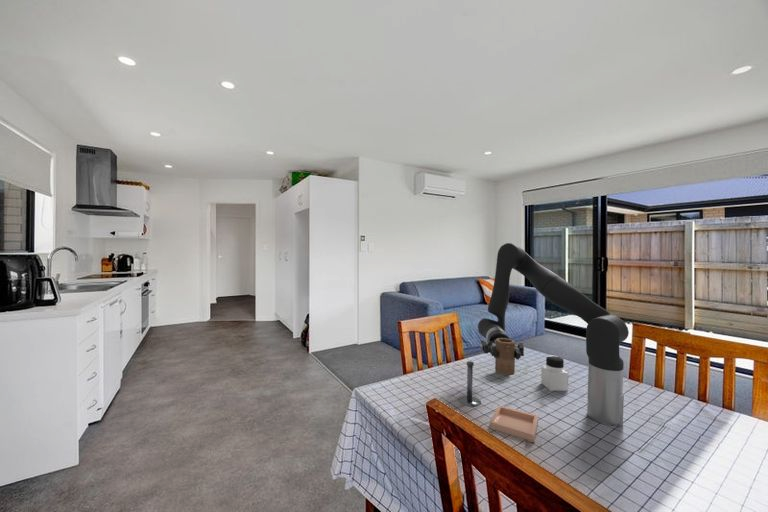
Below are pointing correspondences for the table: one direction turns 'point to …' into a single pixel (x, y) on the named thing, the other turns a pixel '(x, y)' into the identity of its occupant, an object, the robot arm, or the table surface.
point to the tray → (515, 423)
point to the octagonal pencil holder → (505, 356)
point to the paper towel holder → (469, 389)
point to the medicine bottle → (554, 374)
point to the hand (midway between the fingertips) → (506, 355)
